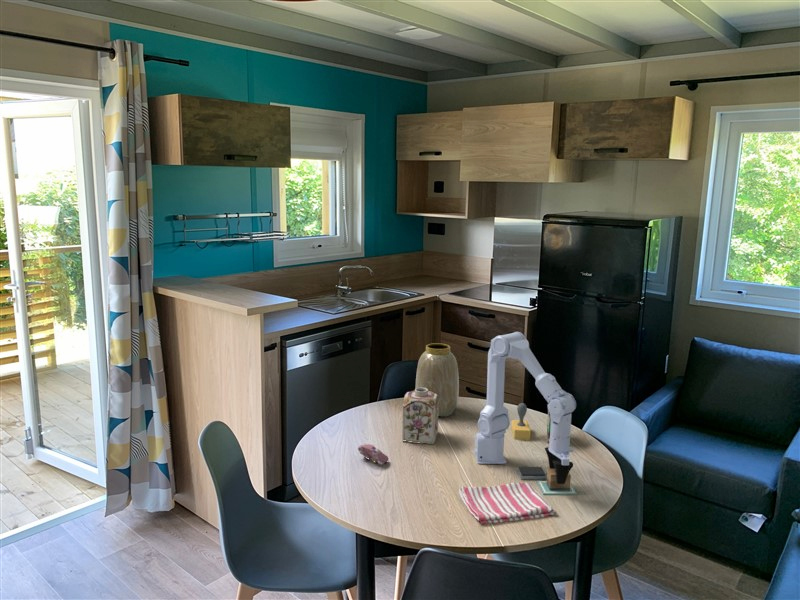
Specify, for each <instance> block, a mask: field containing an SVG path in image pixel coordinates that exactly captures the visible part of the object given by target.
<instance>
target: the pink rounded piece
mask: <svg viewBox="0 0 800 600" xmlns="http://www.w3.org/2000/svg"><path fill="white" fill-rule="evenodd" d="M357 450H358V452H359V454H360V455H362V456H364V458H365V457H367V458H369V459H370V458H371V459H370V460H371V461H372V462H373V461H375V462H377V463H378V462H380V463H382V464H386V463H385V462H387V461H388V462H389V457H388V455H386V454H385V453H384V452H382V451H381V450H380V449H379V448H377V447H375V445H373V444H366V443H363V444H360V445H359V447H358V448H357ZM388 462H387V463H388Z"/></svg>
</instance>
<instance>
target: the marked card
mask: <svg viewBox="0 0 800 600" xmlns="http://www.w3.org/2000/svg"><path fill="white" fill-rule="evenodd" d="M536 483H537V485H538V487H539V489H540V491H541V493H542V494H543V496H548V495H549V496H555V495H556V496H562V495H563V496H564V495H565V496H566V495H567V496H572V495H573V496H576V495H578V493H577V491H576V490H575V488H574V486H573V485H572V483H571V482H570V491H558V490H549V488H548V486H547V484H546V483H547V480H536Z"/></svg>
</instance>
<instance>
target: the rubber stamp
mask: <svg viewBox="0 0 800 600" xmlns="http://www.w3.org/2000/svg"><path fill="white" fill-rule="evenodd" d="M516 410H517V411H516V412H517V414H518V418H519V419H512V420H511V422H510V425H511V426H510V427H511V428H510V430H511V433H512V436H513V439H514V440H517V439H518V440H519V441H525V440H526V441H529V440H530V441H531V434H532V431H531V427H530V424H529V422H528V421H527V419H526V420H524V418H525V416H526V414H527V410H528V407H527V405H526V403H524V402H521V403H519V404H518V405H517V408H516Z"/></svg>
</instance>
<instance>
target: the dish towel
mask: <svg viewBox="0 0 800 600" xmlns="http://www.w3.org/2000/svg"><path fill="white" fill-rule="evenodd" d="M458 494H459V497H460V499H461V500H462V502H463V504H464V505H465V506H466V507H467V509H468V512H470V513H471V515H473V517H474V518H475V519H476V520H478V521H479V522H480V525H485V524H486V525H487V524H498V523H499V524H500V523H506V522H514V521H523V520H530V519H539V518H545V517H549V516H553V515H555V514H556V510H555V508H554V507H552V506H551V504H550V503H548V501H547V500H546V499H545V498H544V496H542V495H541V494H540V493H539V492H538V491H537V490H536V489H535V488H534V487H533V485H532V484H530V483H528V482H511V483H506V484H503V485H491V486H486V487H484V486H467V487H466V486H464V485H463V486H461V487H459V489H458Z"/></svg>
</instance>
